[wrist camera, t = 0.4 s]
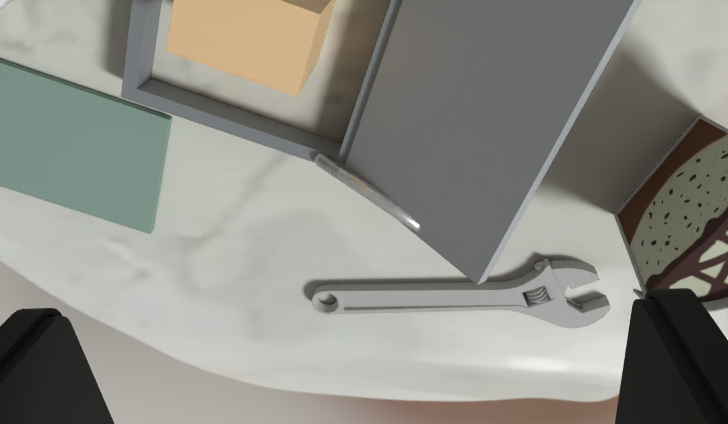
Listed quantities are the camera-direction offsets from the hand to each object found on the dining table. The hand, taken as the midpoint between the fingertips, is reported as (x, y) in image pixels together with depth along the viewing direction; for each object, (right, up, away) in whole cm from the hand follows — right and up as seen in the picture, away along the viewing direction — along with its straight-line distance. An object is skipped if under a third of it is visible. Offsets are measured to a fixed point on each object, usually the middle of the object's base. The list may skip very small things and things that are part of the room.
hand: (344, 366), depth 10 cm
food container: (+25, +5, +34) cm, 42 cm away
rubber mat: (-24, +8, +37) cm, 45 cm away
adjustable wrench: (+9, -4, +41) cm, 42 cm away
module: (-6, +17, +30) cm, 35 cm away
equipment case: (-1, +15, +30) cm, 34 cm away
